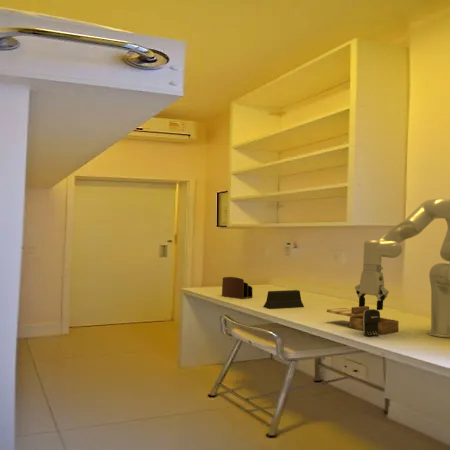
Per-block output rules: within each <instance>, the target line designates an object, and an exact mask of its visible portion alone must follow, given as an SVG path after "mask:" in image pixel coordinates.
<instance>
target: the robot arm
mask: <svg viewBox="0 0 450 450" xmlns="http://www.w3.org/2000/svg"><path fill="white" fill-rule="evenodd" d="M436 219H445V222H446V225H447V228H446V229H447V231H446V233H445V236H444V239H443V241H442V245H441V247H440V250H439V254H440V257H441V259H442V260H444V261H445V263H443V262H442V263H441V262H440V263H435V264H434V265H433V266H431V268H430V269H429V272H428V273H429V274H428V275H429V278H428V279H429V283H430V290H431V291H430V293H431V295H430V299H431V300H430V308H431V309H430V329H427V332H426V334H427V335H429V336H431V337H437V338H438V337H439V338H449V339H450V198H434V199H427V200H425V201H423V202H422V203H421V204H420V205H419V206H418V207H417V208H416V209H414V210H413V212H412V213H411V214H409V215H408V217H407V218H405V219H404V220H403V221H402V222H400V223H398V224H397V225H396V226H394V227H393V228H391V229H390V230H388V231H387V232H385V234H384V235H382V236H381V238H380V239H378V240H377V239H376V240H374V239H367V240H365V241H364V243H363V257H362V258H363V263H362V271H361V275H360V280H359V281H360V282H359V284H358V285H356V286H354V289H355V293H356V295H357V297H358V307H364V306H366V297H365V296H366V295H368V296H369V295H370V296H374V297H375V296H376V298H377V300H376V310H378V311H383V310H384V301H385V299H387V297H388V294H389V293H390V292H389V290H388V289H386V288H385V278H384V273H383V272H382V270H384V268H383V266H382V257H383V258H387V259H388V258H389V259H395V258H397V257H400V256H401V254H402V252H403V246H402V245H401V243H402V242H404V241H406V240H408V239H412V238H414V237H416V236H418V235H420V234H421V233H422V232H423V231H424V230H425V229H426V228H427V227H428V226H429V225H430V224H431V223H432V222H433V221H434V220H436ZM446 262H449V263H446Z"/></svg>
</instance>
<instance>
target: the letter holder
mask: <svg viewBox="0 0 450 450" xmlns="http://www.w3.org/2000/svg"><path fill="white" fill-rule="evenodd" d="M221 297H223V298H224V297H225V298H232V299H238V300H246V299H253V297H254V296H253V287H252V286H251V285H249V284H248V282H245V280H244V278H239V277H236V276H235V277H234V276H224V277H222V286H221Z"/></svg>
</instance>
